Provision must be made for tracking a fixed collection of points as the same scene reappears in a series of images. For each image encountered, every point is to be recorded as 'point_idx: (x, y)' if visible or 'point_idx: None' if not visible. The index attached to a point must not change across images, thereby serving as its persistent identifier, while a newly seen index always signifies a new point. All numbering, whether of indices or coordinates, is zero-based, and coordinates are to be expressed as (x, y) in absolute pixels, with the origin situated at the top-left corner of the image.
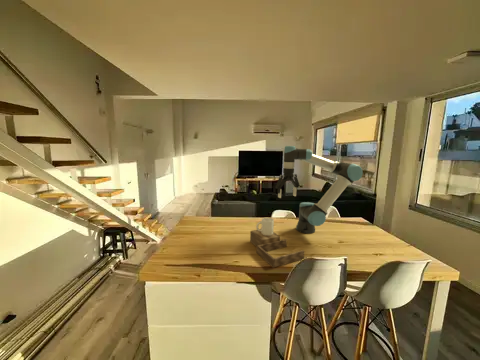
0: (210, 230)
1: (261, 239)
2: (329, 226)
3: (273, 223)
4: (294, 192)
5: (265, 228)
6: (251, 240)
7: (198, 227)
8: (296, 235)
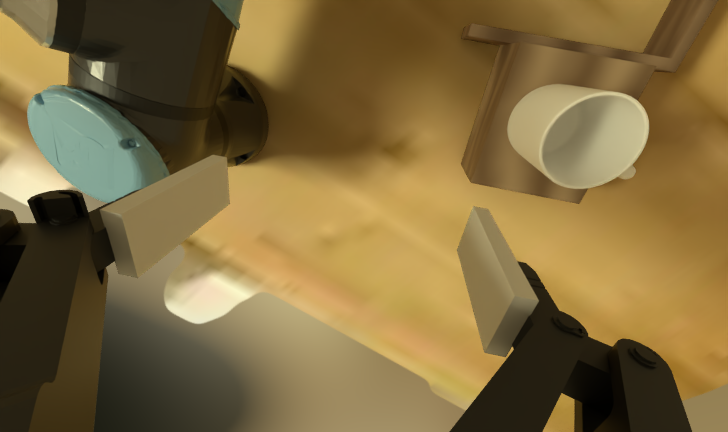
0: None
1: (649, 78)
2: None
3: (567, 96)
4: (196, 198)
5: (611, 111)
6: None
7: None
8: (312, 96)
